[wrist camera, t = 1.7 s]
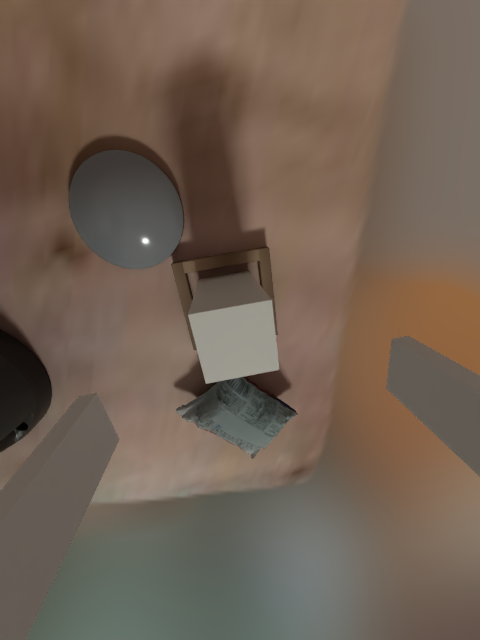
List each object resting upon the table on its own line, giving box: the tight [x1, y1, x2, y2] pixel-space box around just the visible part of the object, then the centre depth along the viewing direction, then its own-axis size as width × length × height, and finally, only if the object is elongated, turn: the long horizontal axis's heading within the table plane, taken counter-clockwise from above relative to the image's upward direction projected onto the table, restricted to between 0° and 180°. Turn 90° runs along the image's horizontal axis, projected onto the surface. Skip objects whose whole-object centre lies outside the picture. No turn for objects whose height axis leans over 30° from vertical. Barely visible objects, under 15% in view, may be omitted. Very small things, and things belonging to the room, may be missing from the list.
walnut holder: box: [171, 247, 278, 350], centre depth 23 cm, size 9×9×1 cm
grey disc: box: [69, 150, 184, 269], centre depth 19 cm, size 9×9×1 cm
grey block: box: [188, 271, 279, 384], centre depth 19 cm, size 5×5×10 cm
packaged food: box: [176, 376, 297, 459], centre depth 26 cm, size 9×12×5 cm
